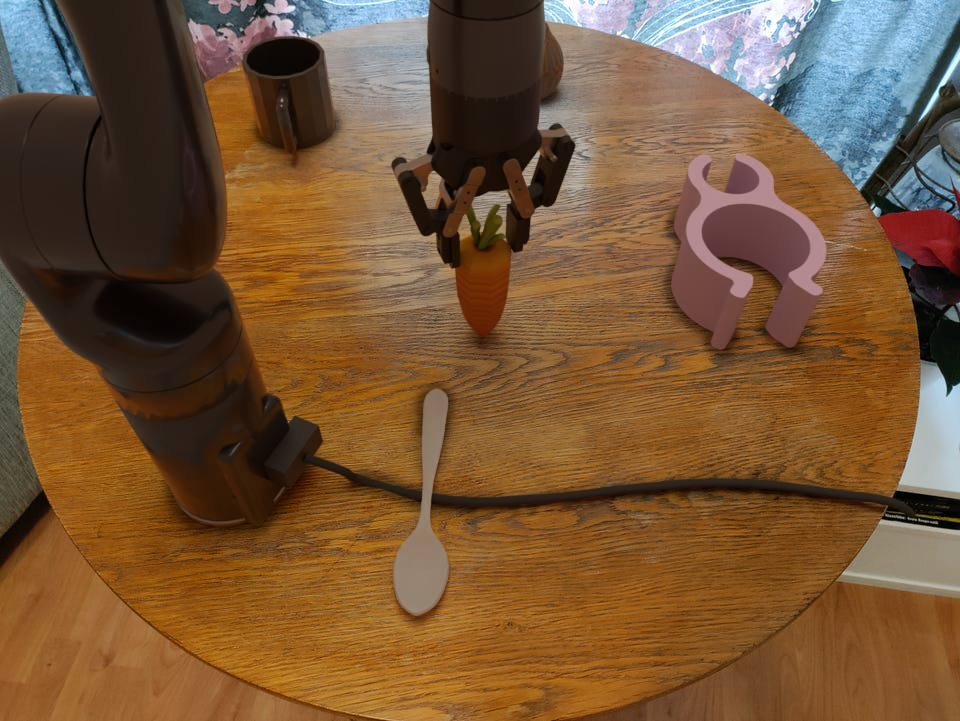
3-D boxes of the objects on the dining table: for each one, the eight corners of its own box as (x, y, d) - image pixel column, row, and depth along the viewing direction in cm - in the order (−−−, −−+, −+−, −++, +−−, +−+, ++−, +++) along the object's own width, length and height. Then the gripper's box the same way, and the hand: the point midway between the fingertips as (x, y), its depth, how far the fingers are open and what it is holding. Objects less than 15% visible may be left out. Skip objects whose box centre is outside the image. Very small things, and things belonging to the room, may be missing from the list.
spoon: (388, 621, 54) (385, 613, 53) (413, 389, 67) (412, 377, 66) (446, 623, 54) (445, 615, 53) (460, 390, 67) (460, 379, 66)
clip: (648, 208, 83) (660, 155, 77) (762, 205, 83) (782, 152, 78) (688, 350, 70) (706, 298, 65) (822, 346, 70) (850, 294, 65)
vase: (570, 87, 98) (577, 20, 91) (544, 113, 94) (549, 45, 87) (523, 71, 100) (527, 5, 93) (496, 96, 96) (498, 29, 89)
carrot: (449, 322, 72) (444, 195, 60) (499, 310, 73) (503, 184, 61) (464, 361, 69) (462, 236, 58) (516, 348, 70) (524, 223, 58)
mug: (263, 107, 94) (246, 37, 88) (336, 103, 95) (325, 34, 88) (253, 169, 87) (234, 98, 80) (333, 165, 87) (321, 94, 80)
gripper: (397, 114, 46) (414, 306, 59) (610, 70, 49) (581, 262, 63) (364, 53, 51) (387, 245, 64) (562, 16, 54) (544, 206, 67)
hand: (483, 252), depth 63 cm, fingers closed on carrot, 5 cm apart
